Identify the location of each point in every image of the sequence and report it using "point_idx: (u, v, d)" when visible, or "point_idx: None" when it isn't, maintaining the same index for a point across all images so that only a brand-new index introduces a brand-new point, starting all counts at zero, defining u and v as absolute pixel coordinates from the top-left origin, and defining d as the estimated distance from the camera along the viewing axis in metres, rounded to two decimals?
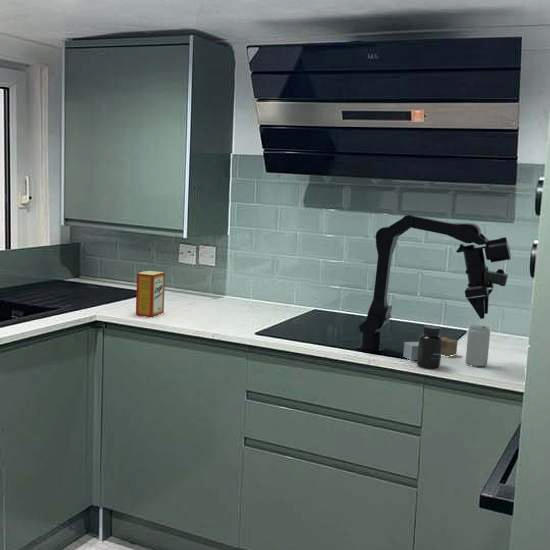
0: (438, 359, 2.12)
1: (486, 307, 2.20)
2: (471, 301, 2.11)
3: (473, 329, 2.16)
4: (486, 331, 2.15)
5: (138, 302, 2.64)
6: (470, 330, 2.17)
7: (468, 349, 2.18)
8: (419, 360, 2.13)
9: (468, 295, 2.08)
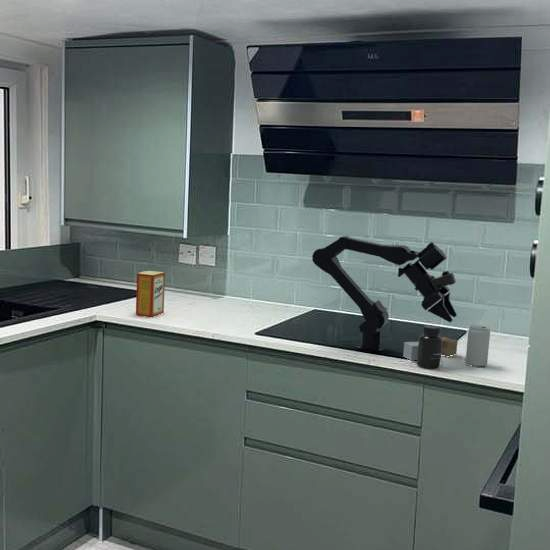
0: (438, 359, 2.12)
1: (452, 310, 2.24)
2: (432, 311, 2.16)
3: (473, 329, 2.16)
4: (486, 331, 2.15)
5: (138, 302, 2.64)
6: (470, 330, 2.17)
7: (468, 349, 2.18)
8: (419, 360, 2.13)
9: (426, 307, 2.14)
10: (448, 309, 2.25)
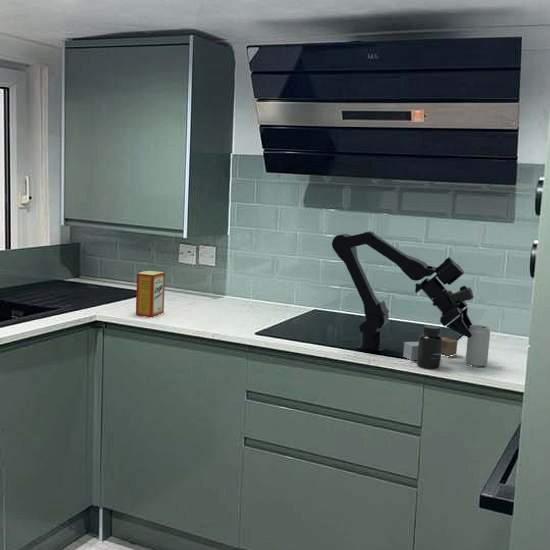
0: (438, 359, 2.12)
1: None
2: (451, 327, 2.14)
3: (473, 329, 2.16)
4: (486, 331, 2.15)
5: (138, 302, 2.64)
6: (470, 330, 2.17)
7: (468, 349, 2.18)
8: (419, 360, 2.13)
9: (445, 323, 2.12)
10: (466, 324, 2.24)
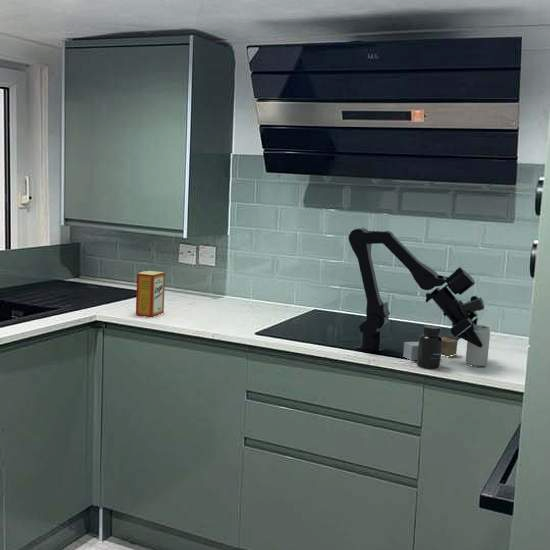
0: (438, 359, 2.12)
1: None
2: (462, 336, 2.15)
3: None
4: (486, 331, 2.15)
5: (138, 302, 2.64)
6: None
7: (468, 349, 2.18)
8: (419, 360, 2.13)
9: (455, 333, 2.11)
10: None
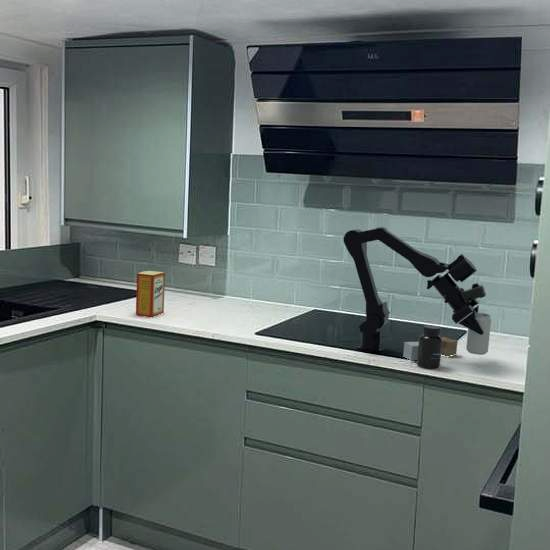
0: (438, 359, 2.12)
1: None
2: (464, 324, 2.14)
3: None
4: (487, 319, 2.15)
5: (138, 302, 2.64)
6: None
7: (469, 337, 2.17)
8: (419, 360, 2.13)
9: (457, 320, 2.11)
10: None
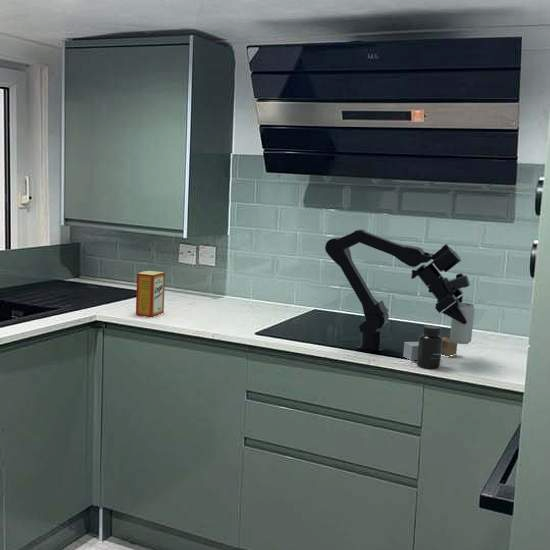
0: (438, 359, 2.12)
1: None
2: (447, 313, 2.16)
3: (458, 306, 2.17)
4: (470, 308, 2.16)
5: (138, 302, 2.64)
6: None
7: (452, 326, 2.19)
8: (419, 360, 2.13)
9: (440, 310, 2.12)
10: None
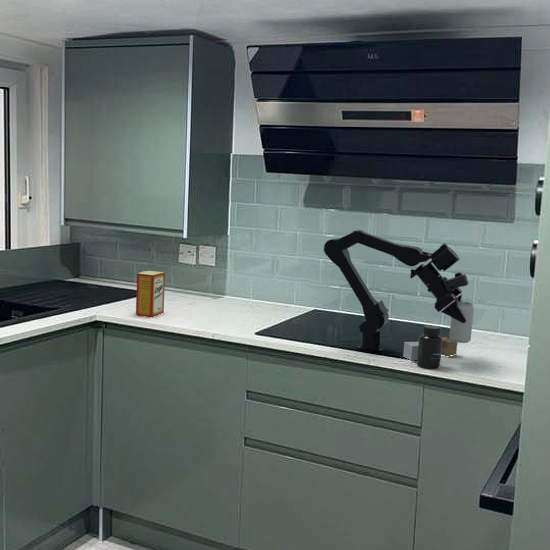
0: (438, 359, 2.12)
1: None
2: (446, 312, 2.16)
3: None
4: (470, 307, 2.16)
5: (138, 302, 2.64)
6: None
7: (452, 325, 2.19)
8: (419, 360, 2.13)
9: (439, 309, 2.12)
10: None
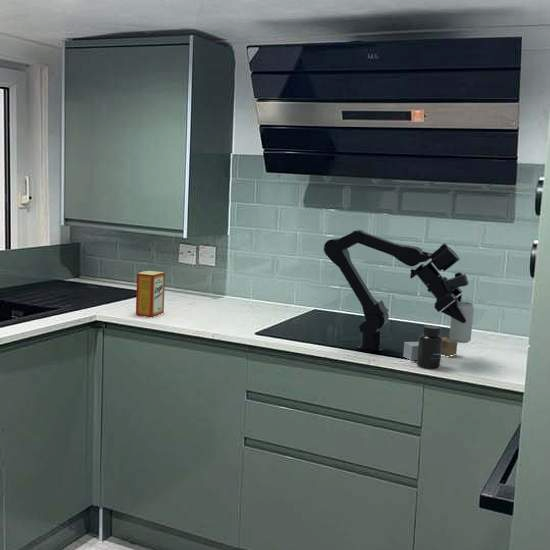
0: (438, 359, 2.12)
1: None
2: (446, 312, 2.16)
3: None
4: (470, 307, 2.16)
5: (138, 302, 2.64)
6: None
7: (452, 325, 2.19)
8: (419, 360, 2.13)
9: (439, 309, 2.12)
10: None
